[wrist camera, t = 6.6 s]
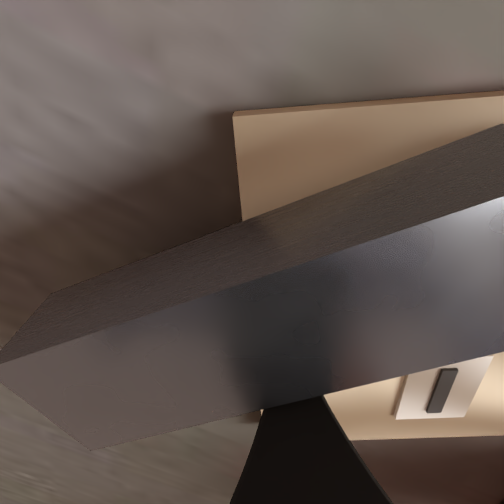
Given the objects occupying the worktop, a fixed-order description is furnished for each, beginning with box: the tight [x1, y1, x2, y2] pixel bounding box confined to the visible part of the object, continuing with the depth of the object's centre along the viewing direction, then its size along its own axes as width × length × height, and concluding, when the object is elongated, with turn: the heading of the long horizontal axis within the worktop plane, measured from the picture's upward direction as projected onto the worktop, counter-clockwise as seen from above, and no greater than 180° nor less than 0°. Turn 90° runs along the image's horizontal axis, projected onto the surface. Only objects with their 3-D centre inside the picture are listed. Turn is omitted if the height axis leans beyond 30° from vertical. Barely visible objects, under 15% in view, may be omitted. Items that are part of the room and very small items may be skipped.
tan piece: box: [232, 90, 504, 440], centre depth 10 cm, size 15×12×5 cm
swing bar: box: [0, 124, 504, 451], centre depth 6 cm, size 14×4×4 cm, turn 113°
